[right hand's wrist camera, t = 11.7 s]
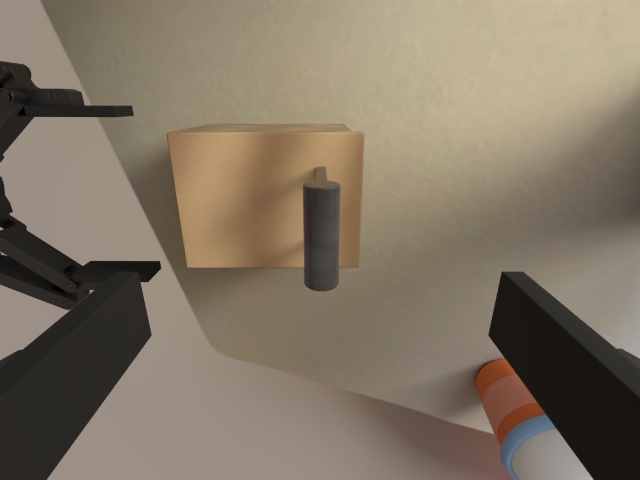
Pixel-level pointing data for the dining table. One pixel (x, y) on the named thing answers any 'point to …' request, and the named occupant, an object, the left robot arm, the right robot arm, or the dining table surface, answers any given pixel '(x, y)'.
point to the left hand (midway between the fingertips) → (141, 198)
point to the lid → (270, 200)
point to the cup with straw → (524, 429)
